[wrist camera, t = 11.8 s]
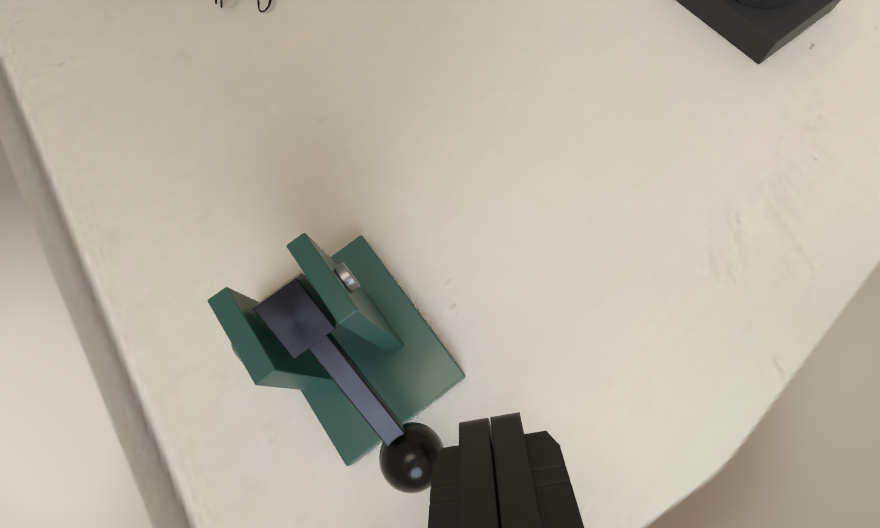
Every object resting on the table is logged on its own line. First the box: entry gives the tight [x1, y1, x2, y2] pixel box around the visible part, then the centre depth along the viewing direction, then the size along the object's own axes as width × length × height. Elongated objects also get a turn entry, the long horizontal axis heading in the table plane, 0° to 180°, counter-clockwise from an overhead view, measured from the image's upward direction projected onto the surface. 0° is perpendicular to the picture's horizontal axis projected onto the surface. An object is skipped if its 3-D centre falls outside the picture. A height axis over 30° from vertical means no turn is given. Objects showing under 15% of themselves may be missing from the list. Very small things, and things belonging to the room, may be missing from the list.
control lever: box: [253, 273, 444, 493], centre depth 22 cm, size 12×3×3 cm, turn 37°
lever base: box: [208, 233, 465, 466], centre depth 25 cm, size 12×9×13 cm
